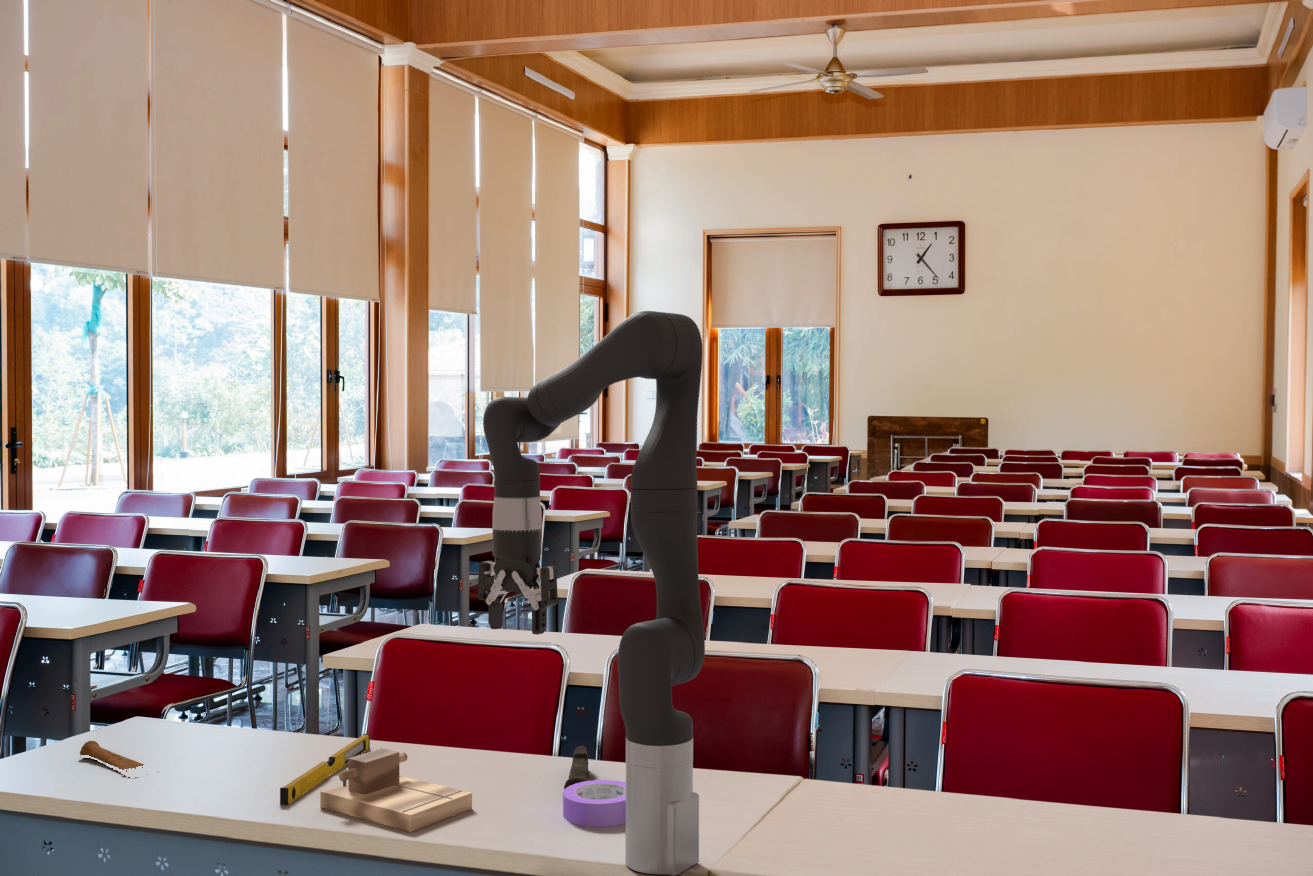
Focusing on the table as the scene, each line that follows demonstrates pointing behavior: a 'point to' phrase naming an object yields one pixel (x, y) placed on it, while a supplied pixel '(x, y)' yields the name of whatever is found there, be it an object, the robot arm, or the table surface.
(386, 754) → the tan peg block
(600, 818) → the masking tape
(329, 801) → the oak board
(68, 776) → the table surface
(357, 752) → the spirit level
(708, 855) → the table surface
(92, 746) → the primitive tool
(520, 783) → the table surface
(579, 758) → the hand tool
